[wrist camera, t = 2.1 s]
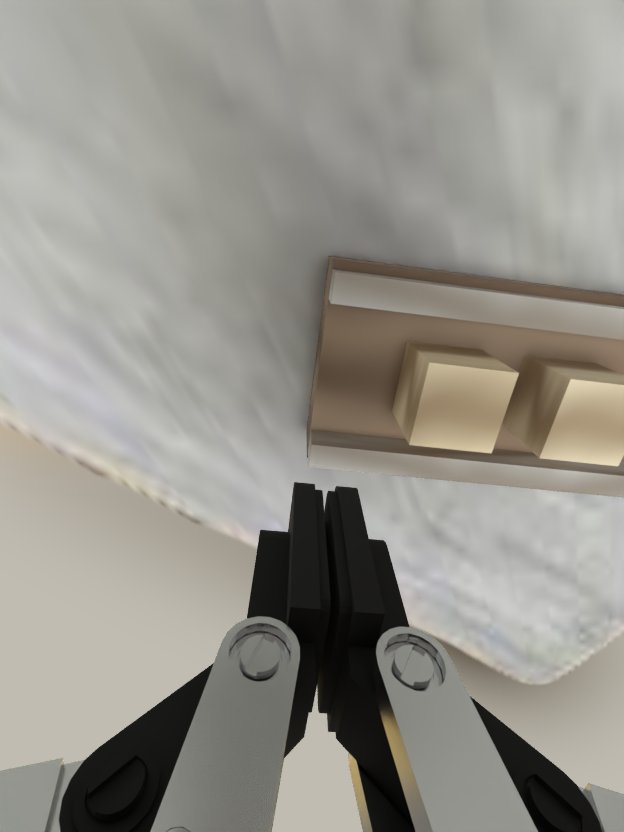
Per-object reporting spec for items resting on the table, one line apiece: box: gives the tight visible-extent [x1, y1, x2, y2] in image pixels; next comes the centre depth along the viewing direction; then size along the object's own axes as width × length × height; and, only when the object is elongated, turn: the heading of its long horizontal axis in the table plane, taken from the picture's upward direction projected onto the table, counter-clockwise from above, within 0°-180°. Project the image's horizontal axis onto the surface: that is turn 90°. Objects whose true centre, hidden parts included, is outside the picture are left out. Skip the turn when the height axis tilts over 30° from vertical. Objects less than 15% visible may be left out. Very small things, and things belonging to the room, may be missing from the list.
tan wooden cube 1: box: [392, 341, 519, 453], centre depth 22 cm, size 4×4×4 cm
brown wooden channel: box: [307, 256, 624, 498], centre depth 25 cm, size 12×22×6 cm, turn 83°
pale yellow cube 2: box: [502, 355, 624, 466], centre depth 23 cm, size 4×4×4 cm
